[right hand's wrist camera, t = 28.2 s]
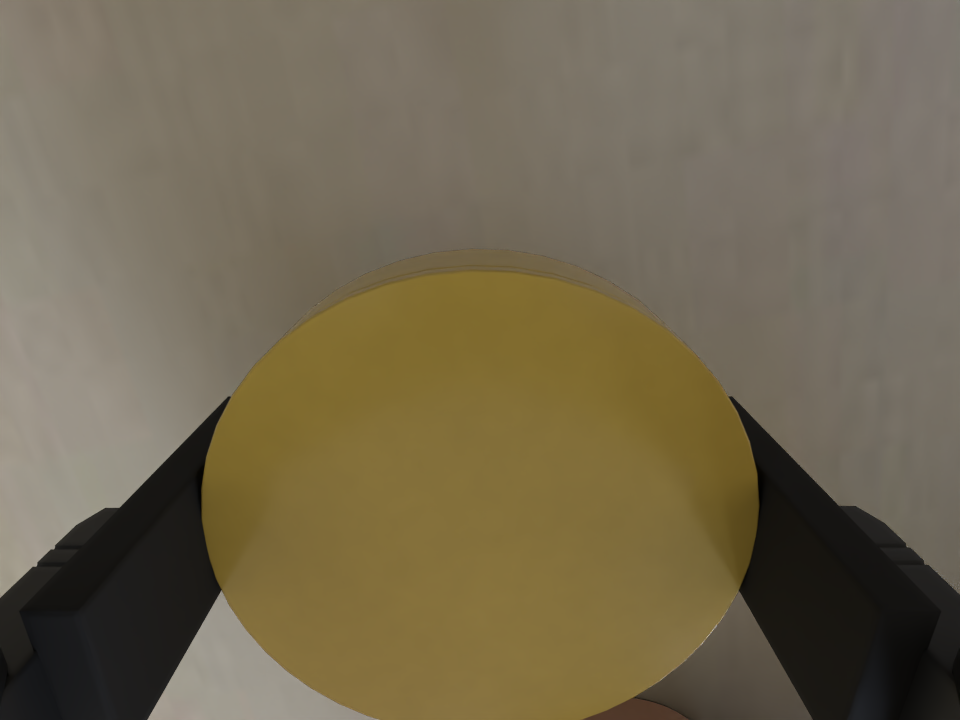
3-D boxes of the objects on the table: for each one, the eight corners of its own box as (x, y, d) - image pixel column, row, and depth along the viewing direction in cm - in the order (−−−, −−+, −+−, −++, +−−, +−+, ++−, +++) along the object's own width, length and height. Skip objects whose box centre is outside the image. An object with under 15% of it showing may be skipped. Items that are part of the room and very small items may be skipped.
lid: (250, 646, 14) (217, 719, 12) (227, 221, 10) (175, 237, 9) (662, 676, 14) (688, 752, 13) (778, 276, 11) (837, 303, 9)
